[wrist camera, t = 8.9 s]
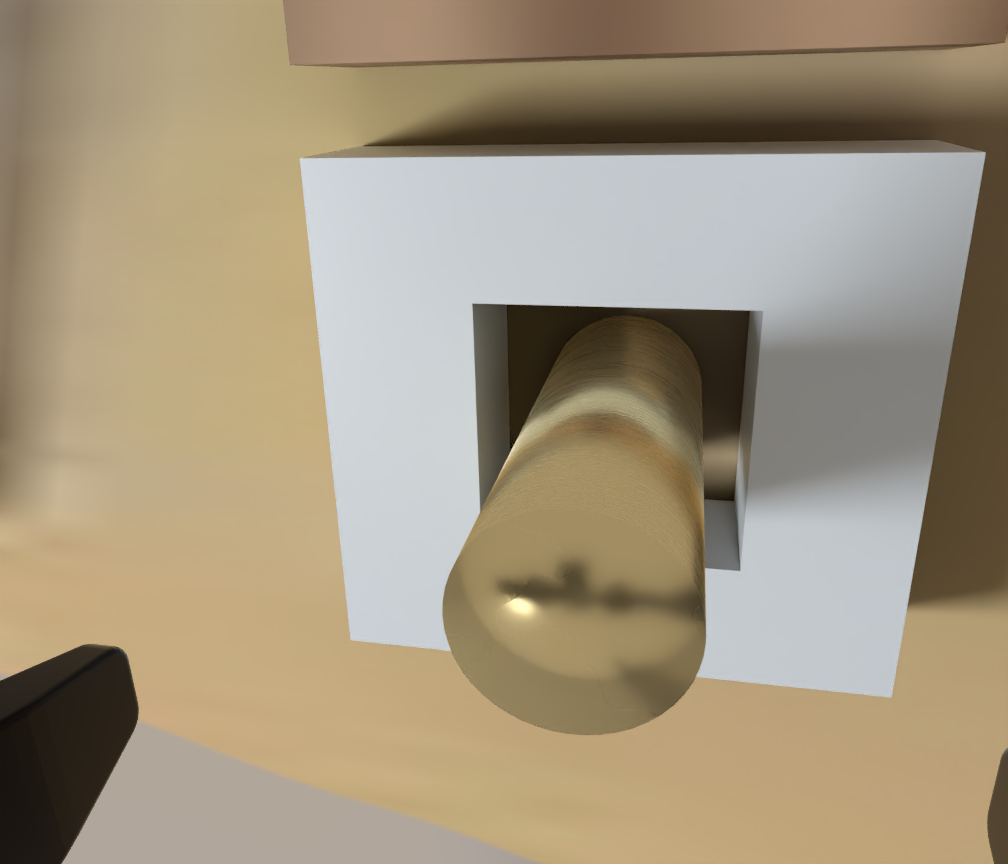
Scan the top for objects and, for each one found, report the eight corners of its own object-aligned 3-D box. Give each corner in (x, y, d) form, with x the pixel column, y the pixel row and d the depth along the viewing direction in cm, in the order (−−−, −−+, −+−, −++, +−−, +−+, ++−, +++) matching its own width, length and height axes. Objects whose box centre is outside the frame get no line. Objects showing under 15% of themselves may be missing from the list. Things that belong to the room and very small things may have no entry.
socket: (935, 139, 16) (985, 152, 13) (864, 611, 19) (891, 697, 17) (360, 146, 18) (299, 157, 15) (394, 569, 22) (350, 639, 19)
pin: (706, 317, 18) (716, 518, 10) (697, 460, 19) (698, 749, 11) (551, 313, 18) (435, 499, 10) (551, 452, 20) (448, 718, 11)
